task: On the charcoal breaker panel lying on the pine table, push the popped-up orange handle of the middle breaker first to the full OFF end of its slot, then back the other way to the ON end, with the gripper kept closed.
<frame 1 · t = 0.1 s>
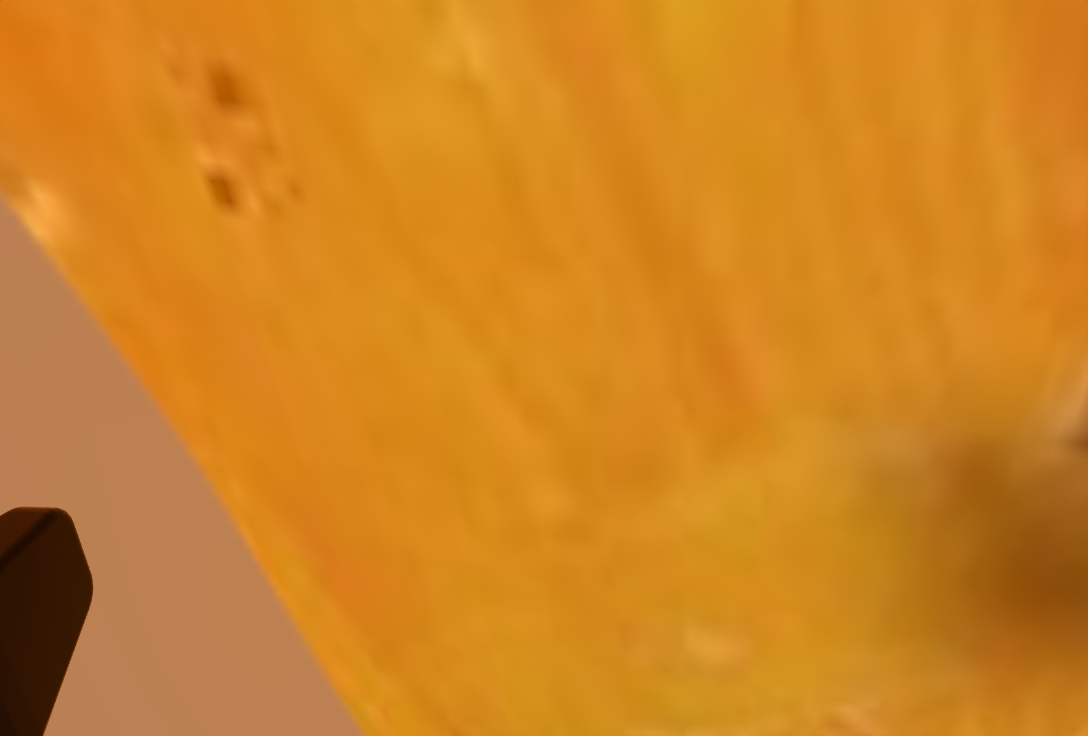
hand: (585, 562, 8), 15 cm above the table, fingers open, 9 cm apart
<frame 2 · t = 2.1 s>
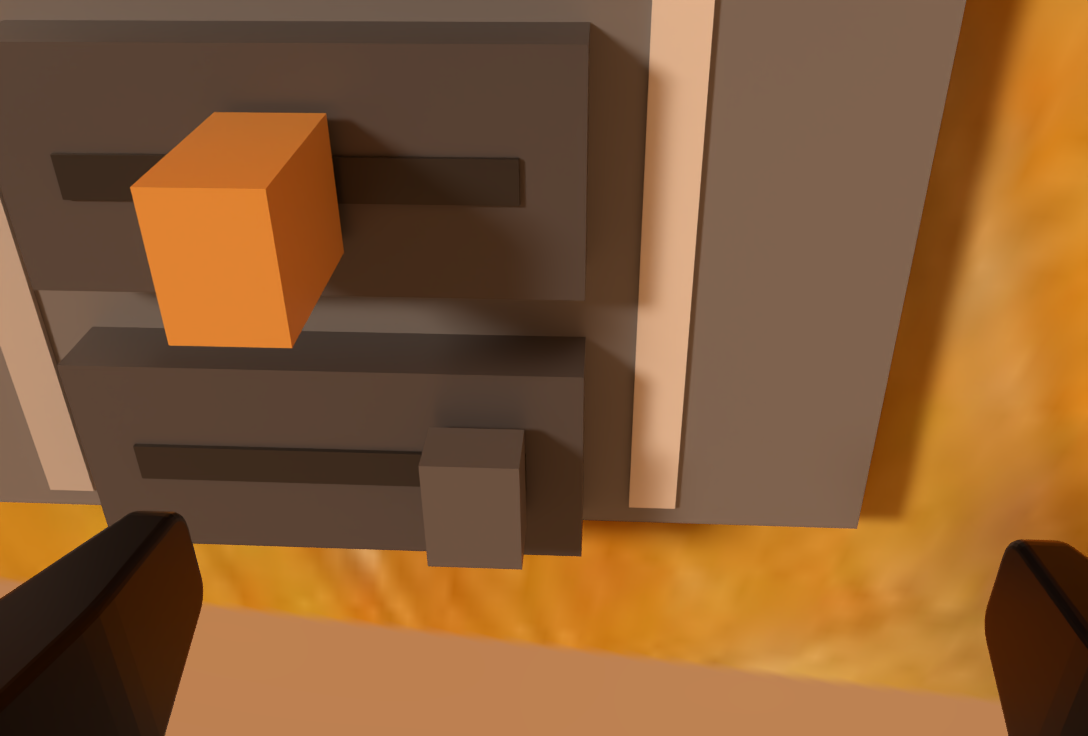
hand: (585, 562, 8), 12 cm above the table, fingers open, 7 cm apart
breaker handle: (251, 224, 15), point 5 cm above the table, slide at 0.0 cm
panel: (381, 122, 19), on the table
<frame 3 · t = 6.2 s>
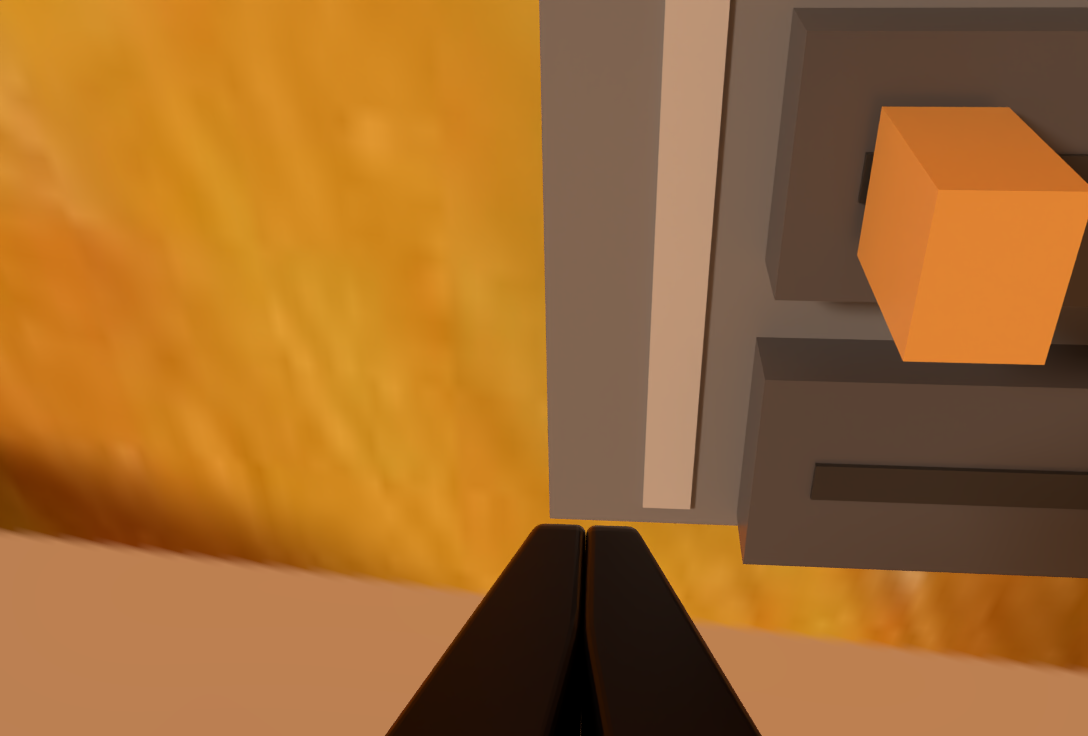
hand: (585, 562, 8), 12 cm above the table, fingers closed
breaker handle: (958, 228, 14), point 5 cm above the table, slide at 2.9 cm
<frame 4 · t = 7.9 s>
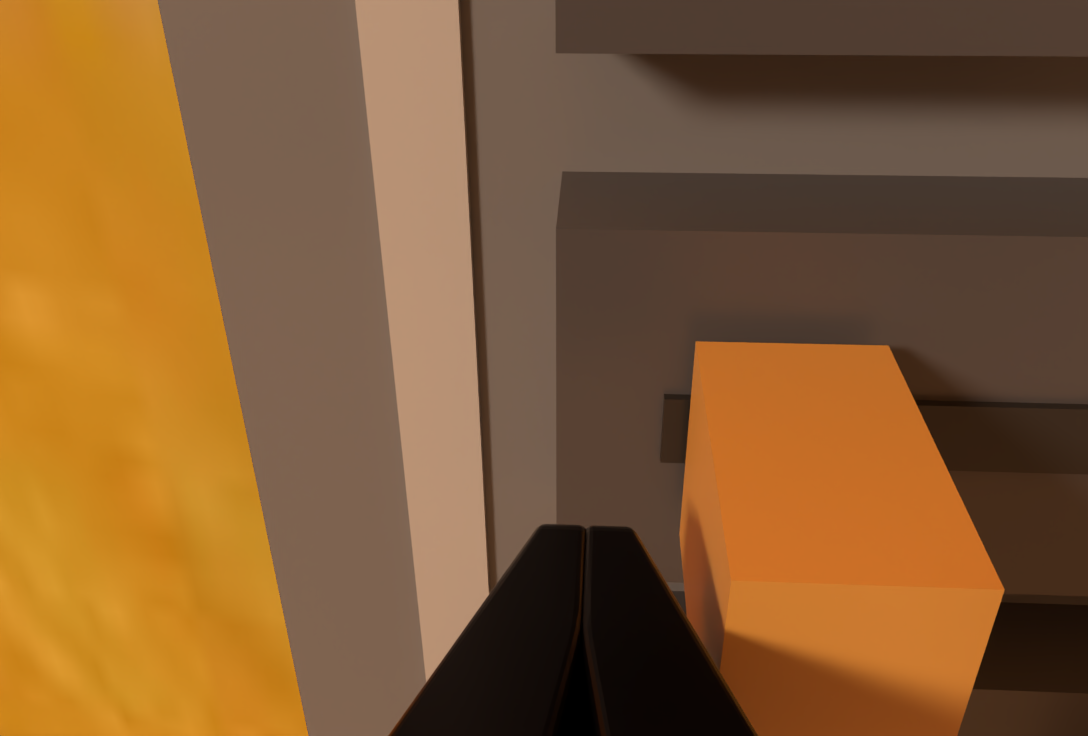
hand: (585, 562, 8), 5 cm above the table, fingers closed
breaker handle: (803, 555, 9), point 5 cm above the table, slide at 2.8 cm, touching gripper
panel: (1037, 300, 13), on the table
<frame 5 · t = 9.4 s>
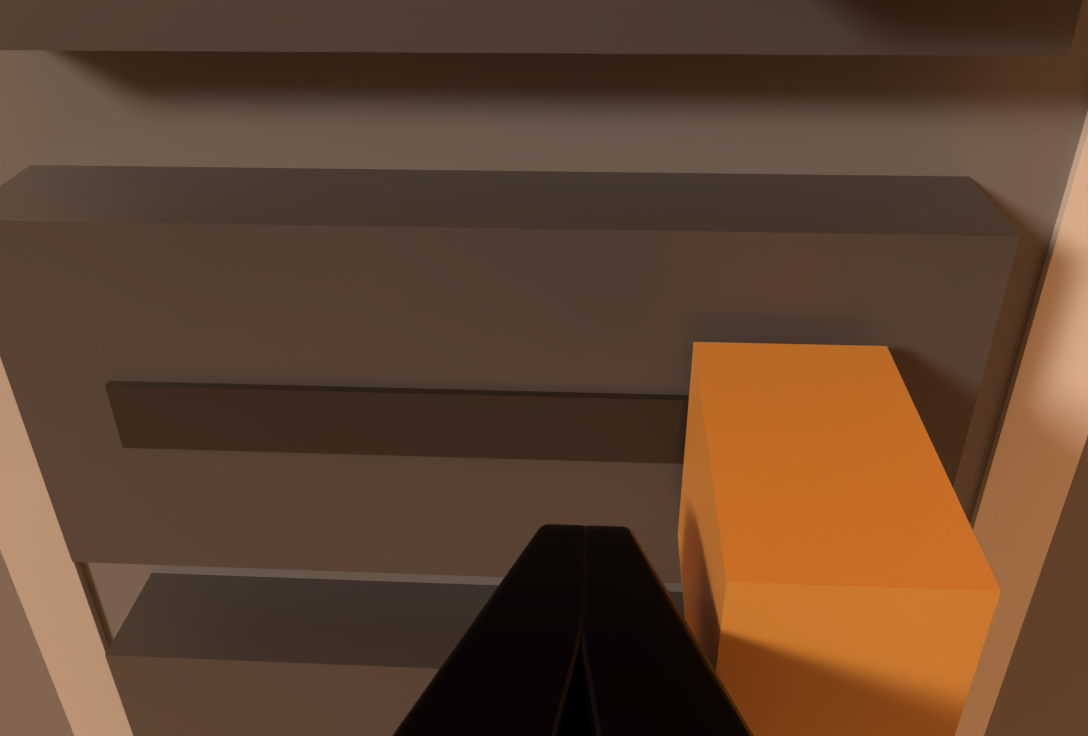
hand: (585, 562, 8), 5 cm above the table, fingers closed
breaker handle: (800, 556, 9), point 5 cm above the table, slide at -3.0 cm, touching gripper
panel: (582, 291, 13), on the table
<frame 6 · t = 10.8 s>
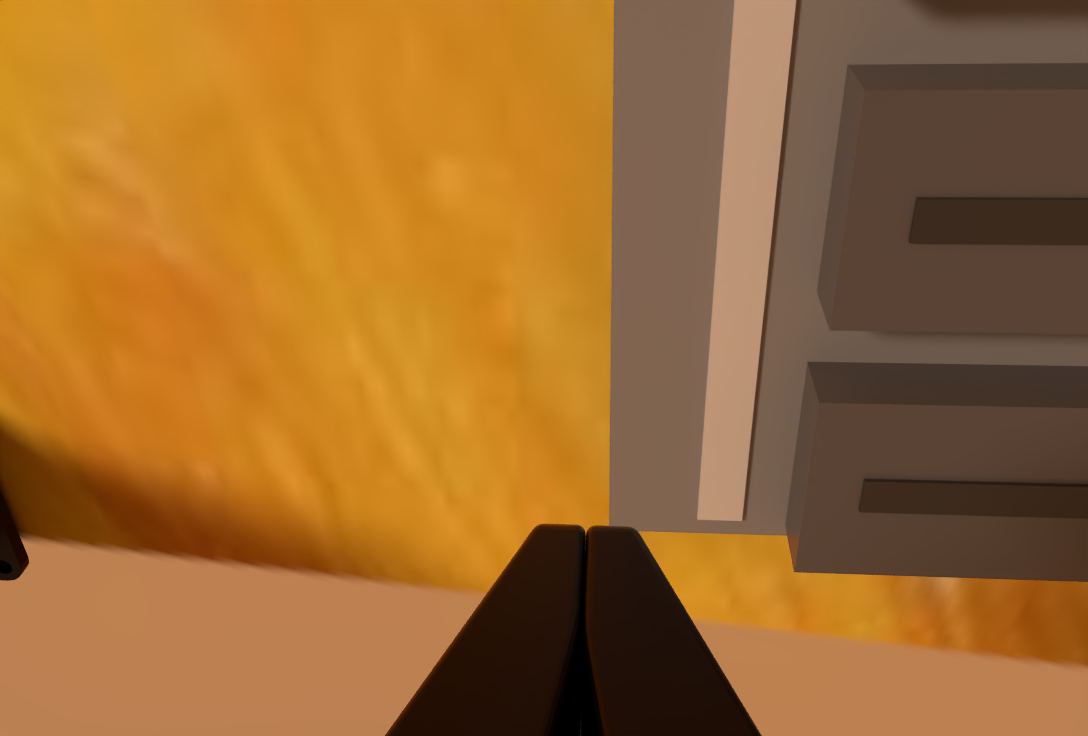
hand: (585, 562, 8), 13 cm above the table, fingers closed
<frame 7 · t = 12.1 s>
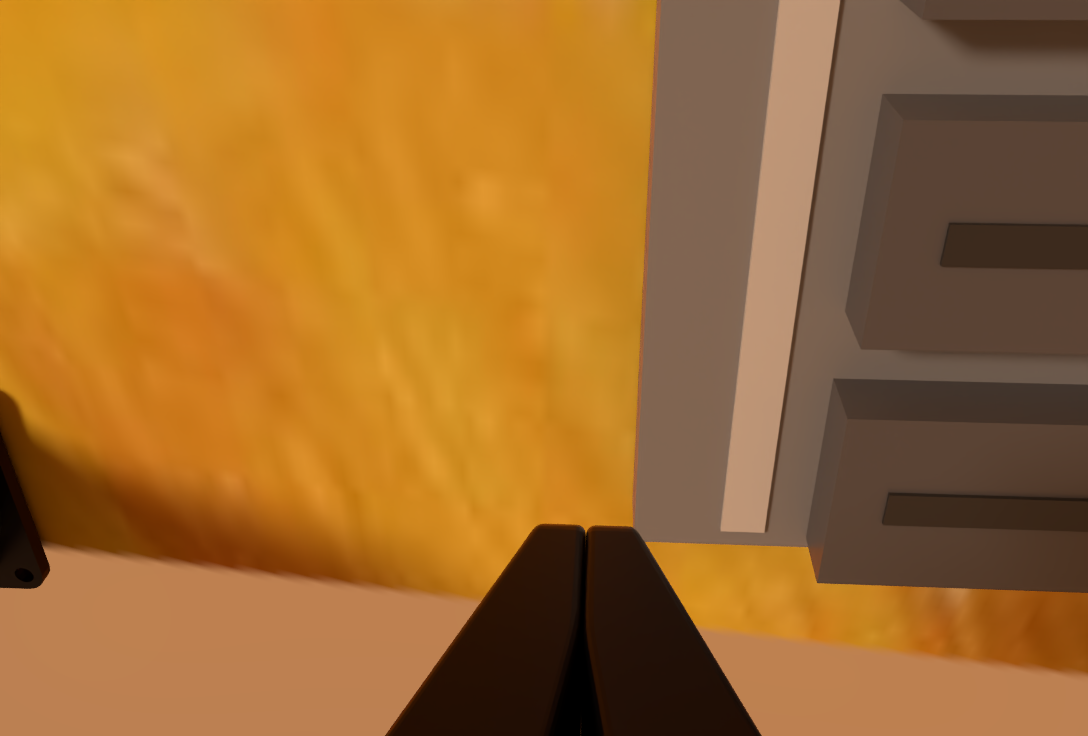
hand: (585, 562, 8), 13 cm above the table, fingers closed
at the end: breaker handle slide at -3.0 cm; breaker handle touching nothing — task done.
